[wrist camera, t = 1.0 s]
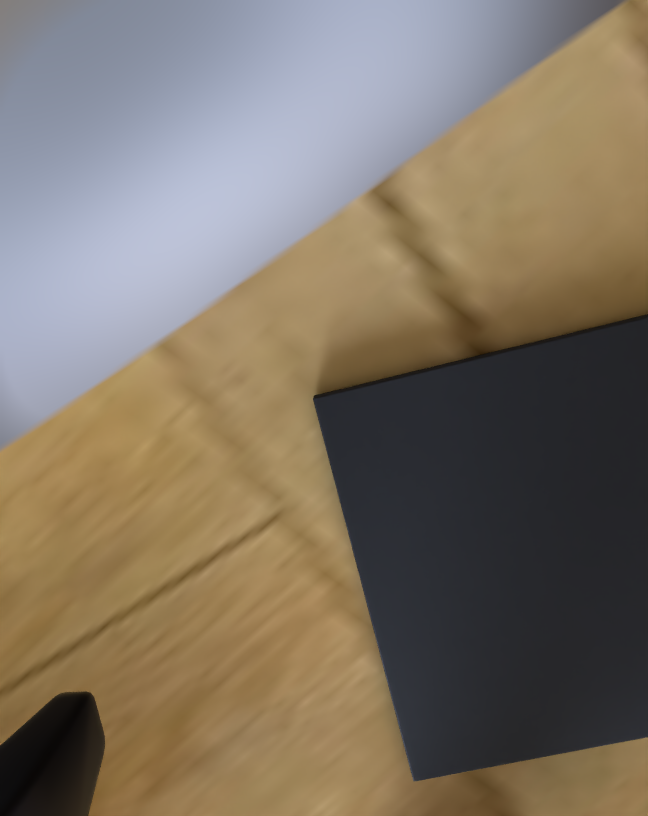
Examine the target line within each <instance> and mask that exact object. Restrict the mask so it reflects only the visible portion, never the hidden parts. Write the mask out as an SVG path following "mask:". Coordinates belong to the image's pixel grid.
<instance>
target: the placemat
mask: <svg viewBox="0 0 648 816" xmlns="http://www.w3.org/2000/svg"><path fill="white" fill-rule="evenodd" d="M313 400H314V404H315V408H316V412H317V416H318V420H319V423H320V427H321V431H322V435H323V439H324V442H325V446H326V450H327V454H328V458H329V461H330V465H331V469H332V473H333V477H334V480H335V484H336V488H337V492H338V496H339V499H340V503H341V507H342V511H343V515H344V518H345V522H346V526H347V530H348V534H349V537H350V541H351V545H352V549H353V553H354V556H355V560H356V564H357V568H358V572H359V576H360V579H361V583H362V587H363V591H364V595H365V598H366V602H367V606H368V610H369V614H370V617H371V621H372V625H373V629H374V633H375V636H376V640H377V644H378V648H379V652H380V655H381V659H382V663H383V667H384V671H385V674H386V678H387V682H388V686H389V690H390V693H391V697H392V701H393V705H394V709H395V712H396V716H397V720H398V724H399V728H400V732H401V735H402V739H403V743H404V747H405V751H406V754H407V758H408V762H409V766H410V770H411V773H412V777H413V780H414V781H420V780H425V779H430V778H435V777H441V776H446V775H451V774H456V773H462V772H467V771H472V770H477V769H483V768H488V767H493V766H498V765H504V764H509V763H514V762H519V761H525V760H530V759H535V758H540V757H546V756H551V755H556V754H561V753H567V752H572V751H577V750H582V749H588V748H593V747H598V746H603V745H609V744H614V743H619V742H624V741H630V740H635V739H640V738H645V737H648V314H647V315H643V316H639V317H635V318H630V319H626V320H622V321H618V322H614V323H610V324H606V325H602V326H598V327H594V328H589V329H585V330H581V331H577V332H573V333H569V334H565V335H561V336H557V337H553V338H548V339H544V340H540V341H536V342H532V343H528V344H524V345H520V346H516V347H512V348H507V349H503V350H499V351H495V352H491V353H487V354H483V355H479V356H475V357H471V358H466V359H462V360H458V361H454V362H450V363H446V364H442V365H438V366H434V367H430V368H425V369H421V370H417V371H413V372H409V373H405V374H401V375H397V376H393V377H389V378H384V379H380V380H376V381H372V382H368V383H364V384H360V385H356V386H352V387H348V388H343V389H339V390H335V391H331V392H327V393H323V394H319V395H315V396H314V398H313Z"/></svg>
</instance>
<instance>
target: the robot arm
mask: <svg viewBox="0 0 648 816" xmlns="http://www.w3.org/2000/svg"><path fill="white" fill-rule="evenodd" d="M104 749H105V735H104V731H103V727H102V723H101V720H100V716H99V712H98V709H97V705H96V701H95V698H94V696H93V695H92V694H91V693H90V692H87V691H85V692H64V693H60V694H58V695H57V696H55V697H54V698H53V699H52V700H50V701H49V702H48V703H47V704H46V705H45V706H44V707H43V708H42V709H40V710H39V711H38V712H37V713H36V714H35V715H34V716H33V717H32V718H30V719H29V720H28V721H27V722H26V723H25V724H24V725H23V726H22V727H20V728H19V729H18V730H17V731H16V732H15V733H14V734H13V735H11V736H10V737H9V738H8V739H7V740H6V741H5V742H4V743H3V744H1V745H0V816H88V814H89V810H90V806H91V802H92V798H93V794H94V790H95V786H96V783H97V779H98V775H99V771H100V767H101V763H102V759H103V755H104Z"/></svg>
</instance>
